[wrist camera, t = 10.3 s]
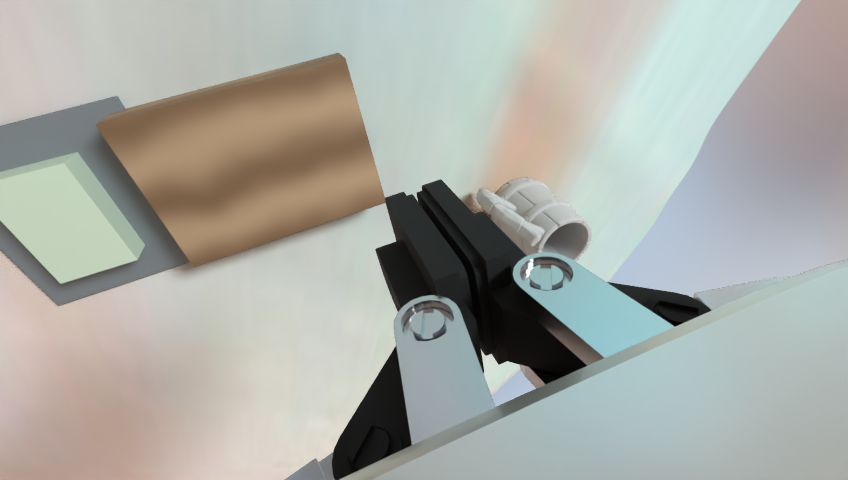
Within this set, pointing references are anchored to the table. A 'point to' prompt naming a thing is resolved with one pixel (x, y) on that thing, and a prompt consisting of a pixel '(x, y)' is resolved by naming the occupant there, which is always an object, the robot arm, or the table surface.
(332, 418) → the table surface
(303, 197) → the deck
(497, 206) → the mug
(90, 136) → the mat
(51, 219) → the tile
